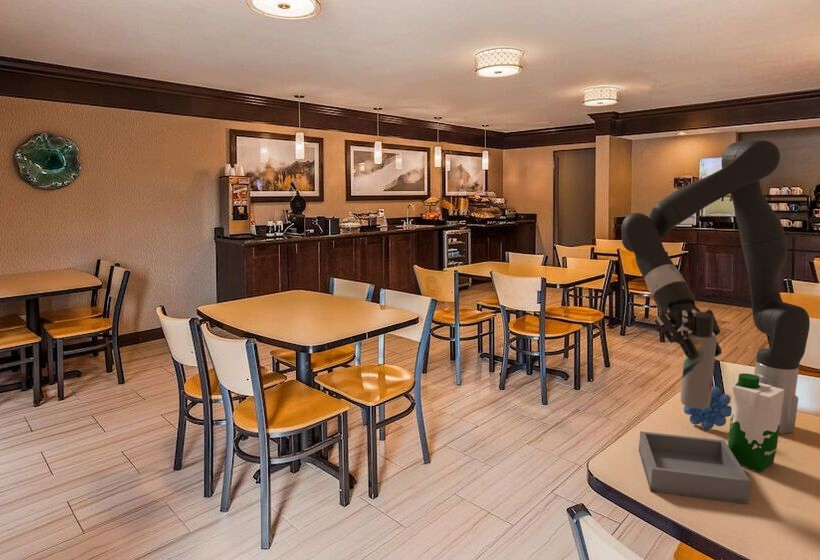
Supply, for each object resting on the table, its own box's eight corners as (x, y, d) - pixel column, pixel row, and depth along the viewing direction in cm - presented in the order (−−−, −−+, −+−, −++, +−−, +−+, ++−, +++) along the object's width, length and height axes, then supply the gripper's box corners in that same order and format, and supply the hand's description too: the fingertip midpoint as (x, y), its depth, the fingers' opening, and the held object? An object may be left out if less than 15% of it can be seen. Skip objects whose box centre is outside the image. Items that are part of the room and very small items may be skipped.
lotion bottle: (707, 400, 119) (716, 311, 115) (712, 410, 113) (721, 317, 110) (678, 397, 121) (686, 309, 117) (682, 407, 115) (690, 315, 112)
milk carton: (737, 448, 131) (746, 369, 128) (780, 464, 124) (790, 380, 121) (720, 459, 126) (729, 377, 123) (763, 476, 119) (774, 389, 116)
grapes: (736, 431, 141) (741, 387, 139) (726, 439, 136) (731, 393, 134) (689, 417, 149) (693, 375, 147) (678, 424, 145) (682, 381, 143)
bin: (722, 460, 126) (724, 440, 125) (747, 504, 109) (750, 481, 108) (638, 450, 131) (640, 431, 130) (650, 491, 113) (652, 469, 113)
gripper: (651, 281, 117) (689, 351, 108) (704, 278, 121) (745, 345, 112) (633, 300, 123) (667, 368, 114) (684, 296, 127) (721, 361, 118)
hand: (706, 356), depth 113 cm, fingers closed on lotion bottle, 5 cm apart
